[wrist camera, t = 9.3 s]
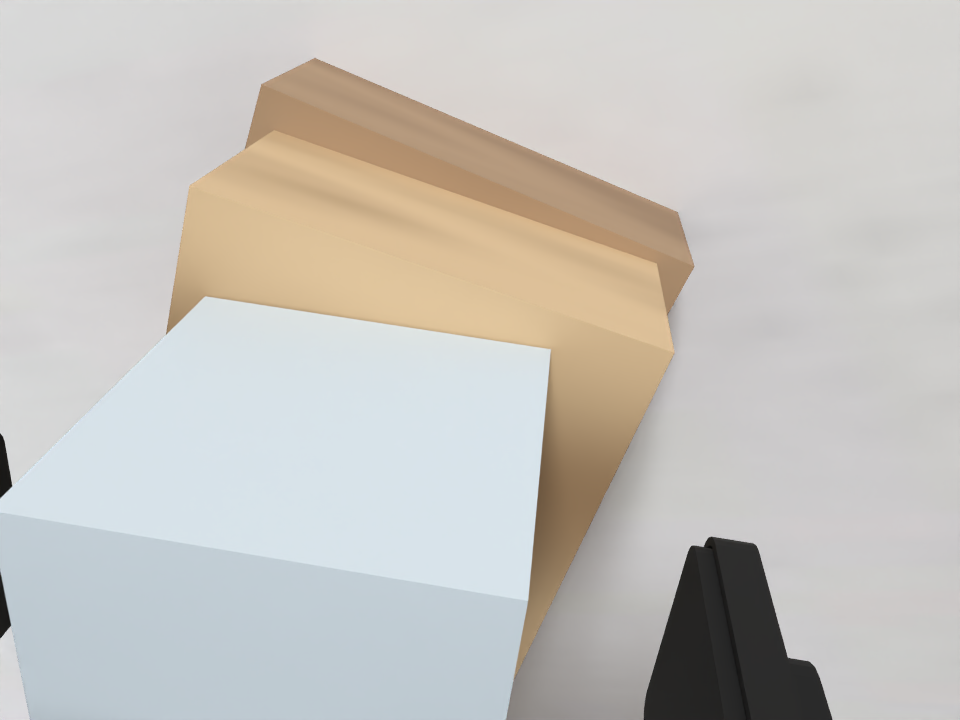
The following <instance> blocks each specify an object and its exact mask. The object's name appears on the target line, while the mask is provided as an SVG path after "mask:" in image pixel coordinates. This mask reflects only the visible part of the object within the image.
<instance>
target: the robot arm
mask: <svg viewBox="0 0 960 720" xmlns="http://www.w3.org/2000/svg"><path fill="white" fill-rule="evenodd" d="M11 487H12V482H11V476H10V470H9V465H8V459H7V453H6V447H5V442H4V439H3V436H2V435H1V434H0V498H1V497H2V496H3V495H4V494H5V493H6V492H7V491H8V490H9V489H10V488H11ZM10 626H11V622H10V617H9V612H8V607H7V602H6V597H5V592H4V587H3V582H2V577H1V572H0V638H1V637H2V636H3V635H4V633H5V632H6V631H7V630H8V628H9V627H10ZM644 720H832V716H831V713H830V710H829V707H828V703H827V700H826V697H825V694H824V690H823V687H822V684H821V681H820V678H819V675H818V673H817V671H816V668H815V667H814V666H813V665H812V664H811V663H810V662H809V661H803V660H797V659H791V658H788V657H787V653H786V650H785V646H784V642H783V639H782V635H781V631H780V628H779V624H778V620H777V617H776V613H775V609H774V606H773V602H772V598H771V594H770V591H769V587H768V583H767V580H766V576H765V572H764V569H763V565H762V561H761V558H760V554H759V551H758V548H757V546H756V545H755V544H753V543H747V542H741V541H734V540H728V539H722V538H716V537H709V538H708V539H707V541H706V543H705V545H704V547H699V546H691V547H690V549H689V551H688V554H687V557H686V561H685V564H684V568H683V571H682V574H681V578H680V581H679V585H678V588H677V591H676V595H675V598H674V602H673V605H672V608H671V612H670V615H669V618H668V622H667V625H666V629H665V632H664V635H663V639H662V642H661V646H660V649H659V652H658V656H657V659H656V663H655V666H654V669H653V673H652V676H651V680H650V683H649V686H648V690H647V694H646V699H645V707H644Z"/></svg>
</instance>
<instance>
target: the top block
mask: <svg viewBox="0 0 960 720" xmlns="http://www.w3.org/2000/svg"><path fill="white" fill-rule="evenodd" d="M205 296H207V297H213V298H220V299H226V300H233V301H239V302H246V303H253V304H259V305H266V306H272V307H279V308H285V309H292V310H298V311H305V312H311V313H318V314H324V315H331V316H337V317H344V318H350V319H357V320H363V321H370V322H376V323H383V324H390V325H396V326H403V327H409V328H416V329H422V330H429V331H435V332H442V333H448V334H455V335H461V336H468V337H474V338H481V339H487V340H494V341H500V342H507V343H513V344H520V345H527V346H533V347H540V348H546V349H551V354H550V365H549V376H548V387H547V398H546V409H545V420H544V431H543V442H542V453H541V464H540V475H539V486H538V497H537V509H536V520H535V531H534V542H533V553H532V564H531V575H530V586H529V597H528V604H527V610H526V615H525V620H524V626H523V631H522V636H521V642H520V647H519V652H518V658H517V663H516V669H515V674H514V678H515V676H516V674H517V672H518V670H519V668H520V666H521V664H522V662H523V660H524V658H525V656H526V654H527V652H528V650H529V648H530V646H531V644H532V642H533V640H534V638H535V636H536V634H537V632H538V629H539V627H540V625H541V623H542V621H543V619H544V617H545V615H546V613H547V611H548V609H549V607H550V605H551V603H552V601H553V599H554V597H555V595H556V593H557V591H558V589H559V587H560V585H561V583H562V581H563V579H564V577H565V575H566V573H567V570H568V568H569V566H570V564H571V562H572V560H573V558H574V556H575V554H576V552H577V550H578V548H579V546H580V544H581V542H582V540H583V538H584V536H585V534H586V532H587V530H588V528H589V526H590V524H591V522H592V520H593V518H594V516H595V513H596V511H597V509H598V507H599V505H600V503H601V501H602V499H603V497H604V495H605V493H606V491H607V489H608V487H609V485H610V483H611V481H612V479H613V477H614V475H615V473H616V471H617V469H618V467H619V465H620V463H621V461H622V459H623V456H624V454H625V452H626V450H627V448H628V446H629V444H630V442H631V440H632V438H633V436H634V434H635V432H636V430H637V428H638V426H639V424H640V422H641V420H642V418H643V416H644V414H645V412H646V410H647V408H648V406H649V404H650V402H651V400H652V397H653V395H654V393H655V391H656V389H657V387H658V385H659V383H660V381H661V379H662V377H663V375H664V373H665V371H666V369H667V367H668V365H669V363H670V361H671V359H672V357H673V355H674V348H673V343H672V338H671V333H670V327H669V322H668V317H667V312H666V307H665V302H664V297H663V292H662V287H661V282H660V277H659V272H658V267H657V263H654V262H651V261H648V260H645V259H642V258H639V257H637V256H634V255H631V254H628V253H625V252H622V251H619V250H616V249H614V248H611V247H608V246H605V245H602V244H599V243H596V242H594V241H591V240H588V239H585V238H582V237H579V236H576V235H573V234H571V233H568V232H565V231H562V230H559V229H556V228H553V227H551V226H548V225H545V224H542V223H539V222H536V221H533V220H530V219H528V218H525V217H522V216H519V215H516V214H513V213H510V212H508V211H505V210H502V209H499V208H496V207H493V206H490V205H487V204H485V203H482V202H479V201H476V200H473V199H470V198H467V197H465V196H462V195H459V194H456V193H453V192H450V191H447V190H444V189H442V188H439V187H436V186H433V185H430V184H427V183H424V182H422V181H419V180H416V179H413V178H410V177H407V176H404V175H401V174H399V173H396V172H393V171H390V170H387V169H384V168H381V167H379V166H376V165H373V164H370V163H367V162H364V161H361V160H358V159H356V158H353V157H350V156H347V155H344V154H341V153H338V152H336V151H333V150H330V149H327V148H324V147H321V146H318V145H315V144H313V143H310V142H307V141H304V140H301V139H298V138H295V137H293V136H290V135H287V134H284V133H281V132H278V131H275V130H274V131H272V132H270V133H269V134H267V135H266V136H264V137H263V138H261V139H260V140H258V141H257V142H255V143H254V144H252V145H251V146H249V147H248V148H246V149H245V150H243V151H242V152H240V153H239V154H237V155H236V156H234V157H232V158H231V159H229V160H228V161H226V162H225V163H223V164H222V165H220V166H219V167H217V168H216V169H214V170H213V171H211V172H210V173H208V174H207V175H205V176H204V177H202V178H201V179H199V180H197V181H196V182H194V183H193V184H191V185H190V186H189V192H188V199H187V205H186V211H185V218H184V224H183V230H182V237H181V243H180V249H179V256H178V262H177V268H176V275H175V281H174V287H173V294H172V300H171V306H170V313H169V319H168V325H167V332H166V334H167V333H168V332H169V331H171V330H172V329H173V328H174V327H175V326H176V325H177V324H178V323H179V322H180V321H181V320H182V319H183V318H184V317H185V316H186V315H187V314H188V313H189V312H190V311H191V310H192V309H193V308H194V307H195V306H196V305H197V304H198V303H199V302H200V301H201V300H202V299H203V298H204V297H205ZM513 680H514V679H513Z"/></svg>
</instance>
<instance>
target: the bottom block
mask: <svg viewBox="0 0 960 720" xmlns="http://www.w3.org/2000/svg"><path fill="white" fill-rule="evenodd" d="M274 130H275V131H278V132H281V133H284V134H287V135H290V136H293V137H295V138H298V139H301V140H304V141H307V142H310V143H313V144H315V145H318V146H321V147H324V148H327V149H330V150H333V151H336V152H338V153H341V154H344V155H347V156H350V157H353V158H356V159H358V160H361V161H364V162H367V163H370V164H373V165H376V166H379V167H381V168H384V169H387V170H390V171H393V172H396V173H399V174H401V175H404V176H407V177H410V178H413V179H416V180H419V181H422V182H424V183H427V184H430V185H433V186H436V187H439V188H442V189H444V190H447V191H450V192H453V193H456V194H459V195H462V196H465V197H467V198H470V199H473V200H476V201H479V202H482V203H485V204H487V205H490V206H493V207H496V208H499V209H502V210H505V211H508V212H510V213H513V214H516V215H519V216H522V217H525V218H528V219H530V220H533V221H536V222H539V223H542V224H545V225H548V226H551V227H553V228H556V229H559V230H562V231H565V232H568V233H571V234H573V235H576V236H579V237H582V238H585V239H588V240H591V241H594V242H596V243H599V244H602V245H605V246H608V247H611V248H614V249H616V250H619V251H622V252H625V253H628V254H631V255H634V256H637V257H639V258H642V259H645V260H648V261H651V262H654V263H657V267H658V272H659V277H660V282H661V287H662V292H663V297H664V302H665V307H666V312H667V315H668V313H669V311H670V309H671V307H672V306H673V304H674V302H675V300H676V298H677V297H678V295H679V293H680V291H681V289H682V288H683V286H684V284H685V282H686V280H687V279H688V277H689V275H690V273H691V272H692V270H693V268H694V264H693V260H692V257H691V254H690V251H689V247H688V244H687V241H686V238H685V234H684V231H683V228H682V225H681V221H680V218H679V215H678V212H676V211H674V210H671V209H669V208H666V207H664V206H662V205H659V204H657V203H655V202H652V201H650V200H648V199H645V198H643V197H641V196H638V195H636V194H634V193H631V192H629V191H626V190H624V189H622V188H619V187H617V186H615V185H612V184H610V183H608V182H605V181H603V180H601V179H598V178H596V177H594V176H591V175H589V174H586V173H584V172H582V171H579V170H577V169H575V168H572V167H570V166H568V165H565V164H563V163H561V162H558V161H556V160H554V159H551V158H549V157H546V156H544V155H542V154H539V153H537V152H535V151H532V150H530V149H528V148H525V147H523V146H521V145H518V144H516V143H514V142H511V141H509V140H506V139H504V138H502V137H499V136H497V135H495V134H492V133H490V132H488V131H485V130H483V129H481V128H478V127H476V126H473V125H471V124H469V123H466V122H464V121H462V120H459V119H457V118H455V117H452V116H450V115H448V114H445V113H443V112H441V111H438V110H436V109H433V108H431V107H429V106H426V105H424V104H422V103H419V102H417V101H415V100H412V99H410V98H408V97H405V96H403V95H401V94H398V93H396V92H393V91H391V90H389V89H386V88H384V87H382V86H379V85H377V84H375V83H372V82H370V81H368V80H365V79H363V78H361V77H358V76H356V75H353V74H351V73H349V72H346V71H344V70H342V69H339V68H337V67H335V66H332V65H330V64H328V63H325V62H323V61H321V60H318V59H316V58H314V59H312V60H310V61H308V62H306V63H304V64H302V65H300V66H298V67H296V68H294V69H292V70H290V71H288V72H286V73H284V74H282V75H279V76H277V77H275V78H273V79H271V80H269V81H267V82H265V83H263V84H261V88H260V92H259V96H258V100H257V104H256V108H255V112H254V116H253V119H252V123H251V127H250V131H249V135H248V139H247V143H246V147H245V149H246V148H248V147H249V146H251V145H252V144H254V143H255V142H257V141H258V140H260V139H261V138H263V137H264V136H266V135H267V134H269V133H270V132H272V131H274Z"/></svg>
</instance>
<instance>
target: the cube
mask: <svg viewBox="0 0 960 720" xmlns="http://www.w3.org/2000/svg"><path fill="white" fill-rule="evenodd" d="M550 354H551V349H546V348H540V347H533V346H527V345H520V344H513V343H507V342H500V341H494V340H487V339H481V338H474V337H468V336H461V335H455V334H448V333H442V332H435V331H429V330H422V329H416V328H409V327H403V326H396V325H390V324H383V323H376V322H370V321H363V320H357V319H350V318H344V317H337V316H331V315H324V314H318V313H311V312H305V311H298V310H292V309H285V308H279V307H272V306H266V305H259V304H253V303H246V302H239V301H233V300H226V299H220V298H213V297H207V296H205V297H204V298H203V299H202V300H201V301H200V302H199V303H198V304H197V305H196V306H195V307H194V308H193V309H192V310H191V311H190V312H189V313H188V314H187V315H186V316H185V317H184V318H183V319H182V320H181V321H180V322H179V323H178V324H177V325H176V326H175V327H174V328H173V329H172V330H171V331H169V332H168V333H167V334H166V335H165V336H164V337H163V338H162V339H161V340H160V341H159V342H158V343H157V344H156V345H155V346H154V347H153V348H152V349H151V350H150V351H149V352H148V353H147V354H146V355H145V356H144V357H143V358H142V359H141V360H140V361H139V362H138V363H137V364H136V365H135V366H134V367H133V368H132V369H131V370H130V371H129V372H128V373H127V374H126V375H125V376H124V377H123V378H122V379H121V380H120V381H119V382H118V383H117V384H116V385H115V386H114V387H113V388H112V389H111V390H110V391H109V392H108V393H107V394H106V395H105V396H104V397H103V398H102V399H101V400H100V401H99V402H98V403H97V404H96V405H95V406H93V407H92V408H91V409H90V410H89V411H88V412H87V413H86V414H85V415H84V416H83V417H82V418H81V419H80V420H79V421H78V422H77V423H76V424H75V425H74V426H73V427H72V428H71V429H70V430H69V431H68V432H67V433H66V434H65V435H64V436H63V437H62V438H61V439H60V440H59V441H58V442H57V443H56V444H55V445H54V446H53V447H52V448H51V449H50V450H49V451H48V452H47V453H46V454H45V455H44V456H43V457H42V458H41V459H40V460H39V461H38V462H37V463H36V464H35V465H34V466H33V467H32V468H31V469H30V470H29V471H28V472H27V473H26V474H25V475H24V476H23V477H22V478H21V479H20V480H19V481H17V482H16V483H15V484H14V485H13V486H12V487H11V488H10V489H9V490H8V491H7V492H6V493H5V494H4V495H3V496H2V497H1V498H0V572H1V577H2V582H3V587H4V592H5V597H6V602H7V607H8V612H9V617H10V622H11V627H12V632H13V637H14V642H15V647H16V652H17V657H18V662H19V667H20V672H21V677H22V682H23V687H24V692H25V697H26V702H27V707H28V712H29V717H30V720H506V717H507V711H508V706H509V701H510V695H511V690H512V685H513V679H514V674H515V669H516V663H517V658H518V652H519V647H520V642H521V636H522V631H523V626H524V620H525V615H526V610H527V604H528V597H529V586H530V575H531V564H532V553H533V542H534V531H535V520H536V509H537V497H538V486H539V475H540V464H541V453H542V442H543V431H544V420H545V409H546V398H547V387H548V376H549V365H550Z"/></svg>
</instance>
